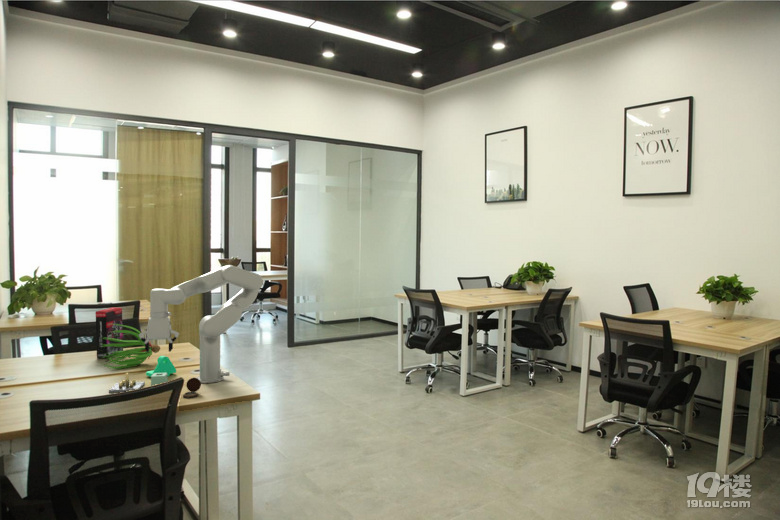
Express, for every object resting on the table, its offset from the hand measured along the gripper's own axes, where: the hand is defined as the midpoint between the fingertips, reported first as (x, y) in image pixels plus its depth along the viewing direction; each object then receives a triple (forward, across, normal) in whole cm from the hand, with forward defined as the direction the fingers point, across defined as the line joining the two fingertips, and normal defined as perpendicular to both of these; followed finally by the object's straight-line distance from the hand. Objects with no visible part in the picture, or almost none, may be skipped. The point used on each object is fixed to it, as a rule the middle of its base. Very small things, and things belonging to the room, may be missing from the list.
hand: (159, 351), depth 237 cm
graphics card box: (+16, +40, -68) cm, 80 cm away
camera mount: (+16, +3, -18) cm, 24 cm away
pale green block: (+16, 0, 0) cm, 16 cm away
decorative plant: (+16, +22, -40) cm, 49 cm away
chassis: (+16, +13, +3) cm, 21 cm away
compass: (+16, -18, +20) cm, 31 cm away
